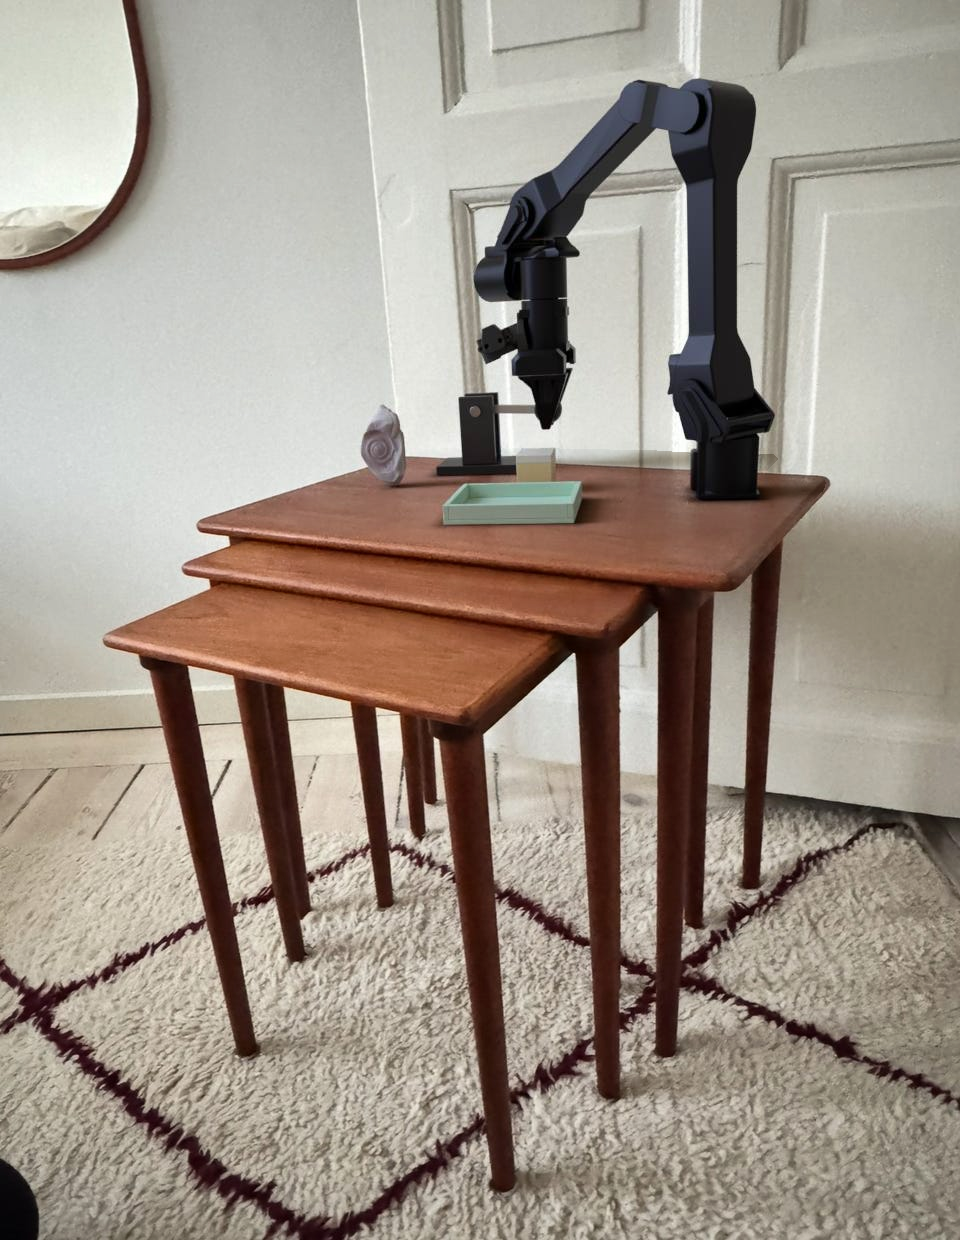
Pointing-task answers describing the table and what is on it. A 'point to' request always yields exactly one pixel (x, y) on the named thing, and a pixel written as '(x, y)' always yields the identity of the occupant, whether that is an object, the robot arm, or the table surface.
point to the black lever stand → (479, 439)
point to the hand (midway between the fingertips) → (547, 427)
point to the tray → (514, 503)
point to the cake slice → (536, 465)
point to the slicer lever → (525, 410)
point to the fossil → (384, 447)
